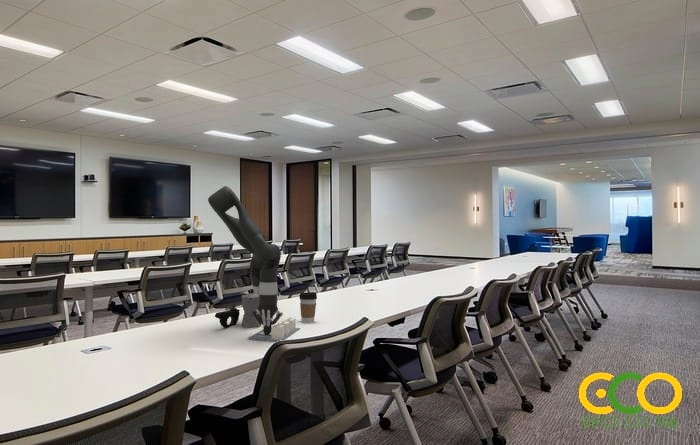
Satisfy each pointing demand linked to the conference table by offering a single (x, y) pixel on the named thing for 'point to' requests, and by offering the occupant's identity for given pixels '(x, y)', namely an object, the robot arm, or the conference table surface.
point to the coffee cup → (308, 306)
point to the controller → (226, 314)
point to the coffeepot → (250, 310)
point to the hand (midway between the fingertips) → (267, 334)
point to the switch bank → (268, 336)
